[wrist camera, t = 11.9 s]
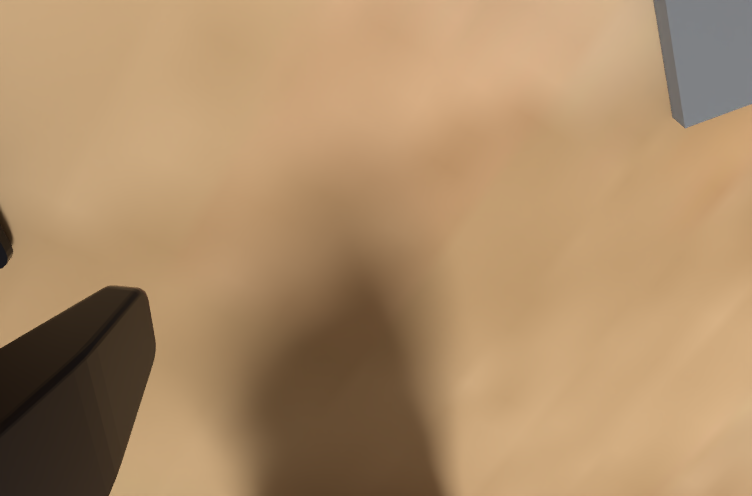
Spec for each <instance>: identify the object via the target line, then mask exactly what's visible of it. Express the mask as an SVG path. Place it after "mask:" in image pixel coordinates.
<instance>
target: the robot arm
mask: <svg viewBox="0 0 752 496" xmlns="http://www.w3.org/2000/svg"><path fill="white" fill-rule="evenodd" d="M12 254H13V249H12V245H11V243H10V242H9V240H8V238H7V236H6V234H5V232H4V230H3V228H2V227H1V225H0V269H1V268H3V267H4V266H5V265H6V264H7V263H8V261H9V260H10V258H11V257H12ZM155 350H156V342H155V336H154V330H153V324H152V318H151V312H150V307H149V301H148V297H147V295H146V293H145V291H143V290H142V289H140V288H136V287H125V286H107V287H105V288H103V289H101V290H99V291H97V292H96V293H94V294H92V295H91V296H89V297H87V298H85V299H84V300H82V301H80V302H79V303H77V304H75V305H74V306H72V307H70V308H68V309H67V310H65V311H63V312H62V313H60V314H58V315H57V316H55V317H53V318H51V319H50V320H48V321H46V322H45V323H43V324H41V325H39V326H38V327H36V328H34V329H33V330H31V331H29V332H28V333H26V334H24V335H22V336H21V337H19V338H17V339H16V340H14V341H12V342H11V343H9V344H7V345H5V346H4V347H2V348H0V496H109V494H110V491H111V489H112V487H113V484H114V482H115V479H116V477H117V474H118V471H119V468H120V465H121V463H122V460H123V457H124V453H125V450H126V447H127V444H128V441H129V438H130V435H131V431H132V428H133V425H134V422H135V419H136V416H137V412H138V409H139V406H140V403H141V400H142V397H143V394H144V390H145V387H146V384H147V381H148V378H149V375H150V371H151V368H152V365H153V362H154V357H155Z"/></svg>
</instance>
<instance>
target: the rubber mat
mask: <svg viewBox="0 0 752 496" xmlns="http://www.w3.org/2000/svg"><path fill="white" fill-rule="evenodd" d="M654 7H655V13H656V19H657V25H658V31H659V37H660V43H661V49H662V55H663V62H664V68H665V74H666V80H667V86H668V92H669V98H670V104H671V111H672V117H673V118H674V119H675V120H676V121H677V122H678V123H680V124H681V125H682V126H683V127H684V128H687V127H690V126H693V125H695V124H698V123H701V122H704V121H706V120H709V119H712V118H714V117H717V116H720V115H723V114H725V113H728V112H731V111H733V110H736V109H739V108H742V107H744V106H747V105H750V104H752V0H654Z"/></svg>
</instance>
